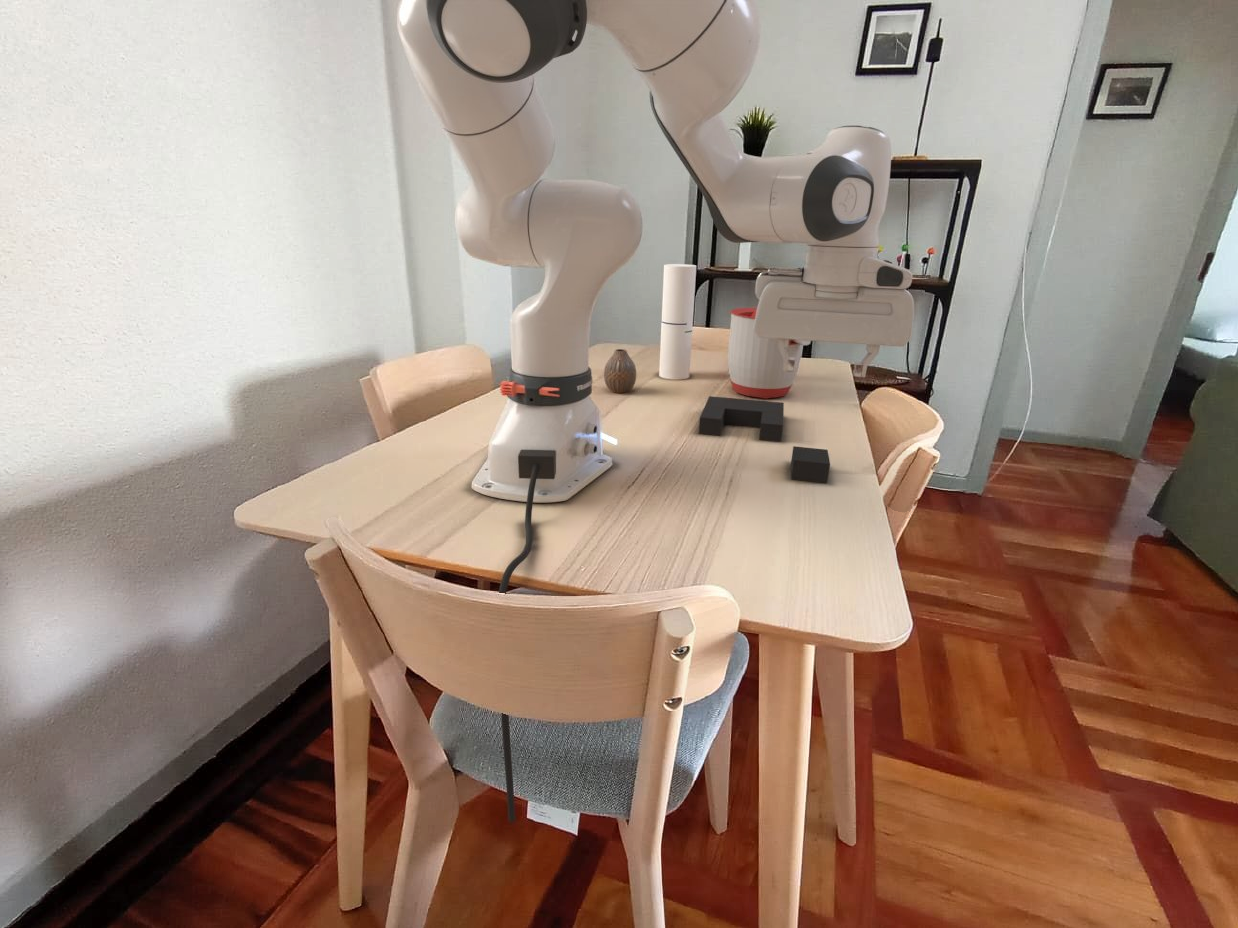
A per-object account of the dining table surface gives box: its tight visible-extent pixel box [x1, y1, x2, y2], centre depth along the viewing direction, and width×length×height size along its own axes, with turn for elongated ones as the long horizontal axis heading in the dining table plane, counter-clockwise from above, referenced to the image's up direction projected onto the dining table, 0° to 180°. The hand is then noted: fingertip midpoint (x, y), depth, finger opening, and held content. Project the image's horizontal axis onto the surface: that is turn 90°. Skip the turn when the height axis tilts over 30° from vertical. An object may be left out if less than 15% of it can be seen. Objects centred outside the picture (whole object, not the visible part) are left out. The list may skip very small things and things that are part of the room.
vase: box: [603, 348, 637, 394], centre depth 129 cm, size 7×7×9 cm
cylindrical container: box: [658, 263, 697, 381], centre depth 140 cm, size 7×7×25 cm
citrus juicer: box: [727, 307, 812, 400], centre depth 128 cm, size 16×17×20 cm
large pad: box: [698, 395, 785, 443], centre depth 110 cm, size 14×14×3 cm
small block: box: [790, 445, 831, 484], centre depth 90 cm, size 6×5×3 cm
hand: (822, 373), depth 85 cm, fingers open, 8 cm apart
